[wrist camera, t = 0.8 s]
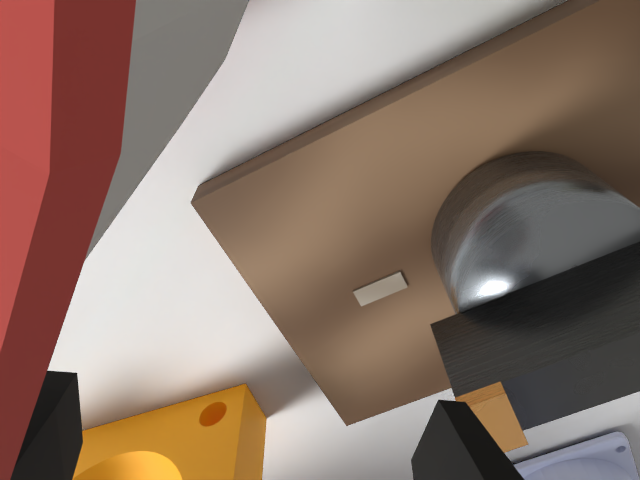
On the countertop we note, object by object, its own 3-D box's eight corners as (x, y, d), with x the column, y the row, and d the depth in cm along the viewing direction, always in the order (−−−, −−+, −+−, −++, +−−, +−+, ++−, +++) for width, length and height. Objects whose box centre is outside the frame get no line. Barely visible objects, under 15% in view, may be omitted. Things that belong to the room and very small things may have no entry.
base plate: (778, 238, 21) (811, 258, 20) (344, 401, 25) (346, 427, 24) (760, -96, 15) (806, -101, 14) (198, 185, 19) (190, 204, 18)
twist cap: (642, 256, 19) (811, 408, 13) (444, 333, 21) (507, 502, 14) (610, 107, 16) (807, 206, 10) (384, 209, 18) (428, 351, 12)
